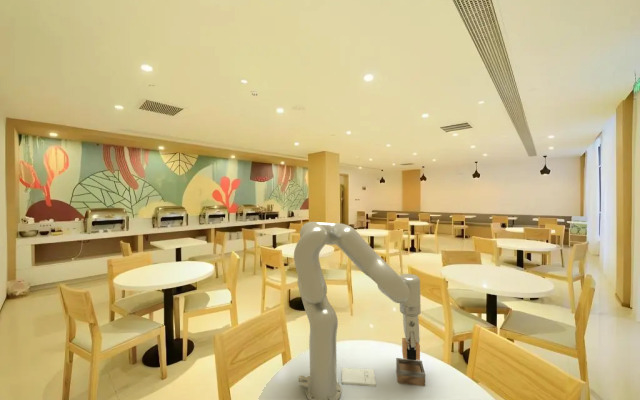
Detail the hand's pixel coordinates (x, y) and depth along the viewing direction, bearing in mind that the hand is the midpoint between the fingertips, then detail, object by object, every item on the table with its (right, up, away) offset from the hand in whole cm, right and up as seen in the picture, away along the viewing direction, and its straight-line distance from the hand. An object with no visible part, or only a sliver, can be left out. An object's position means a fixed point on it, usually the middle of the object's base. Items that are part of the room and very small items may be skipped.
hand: (410, 354), depth 104 cm
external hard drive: (-20, -10, 0) cm, 22 cm away
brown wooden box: (0, -9, 0) cm, 9 cm away
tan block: (0, 0, 0) cm, 0 cm away
